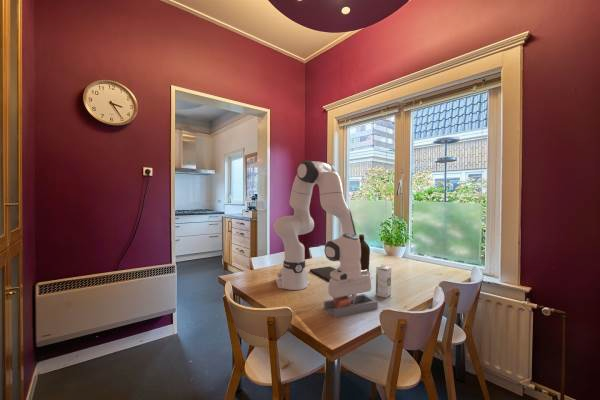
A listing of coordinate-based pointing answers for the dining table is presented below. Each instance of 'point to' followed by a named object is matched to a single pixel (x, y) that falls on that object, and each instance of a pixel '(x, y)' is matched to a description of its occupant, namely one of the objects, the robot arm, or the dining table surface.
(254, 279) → the dining table surface
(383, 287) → the syrup box
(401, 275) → the dining table surface
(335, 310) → the channel
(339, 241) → the robot arm
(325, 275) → the hardcover book
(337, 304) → the red block
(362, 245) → the olive oil
